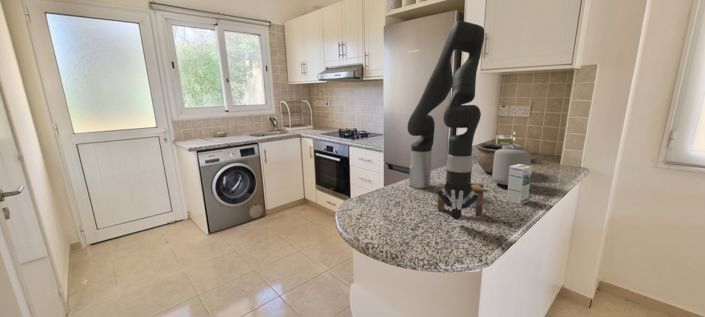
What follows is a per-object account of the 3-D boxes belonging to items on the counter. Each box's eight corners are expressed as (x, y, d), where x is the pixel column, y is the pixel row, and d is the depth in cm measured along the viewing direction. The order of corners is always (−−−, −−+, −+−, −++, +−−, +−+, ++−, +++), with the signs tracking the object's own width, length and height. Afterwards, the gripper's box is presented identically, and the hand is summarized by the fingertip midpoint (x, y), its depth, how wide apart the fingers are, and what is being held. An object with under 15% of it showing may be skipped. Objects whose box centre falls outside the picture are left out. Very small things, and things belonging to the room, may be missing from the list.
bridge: (481, 216, 103) (483, 190, 101) (437, 210, 109) (438, 185, 107) (481, 213, 105) (483, 188, 103) (439, 207, 112) (440, 183, 110)
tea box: (494, 156, 196) (495, 134, 193) (511, 157, 192) (513, 135, 189) (495, 161, 182) (497, 137, 179) (513, 162, 179) (515, 138, 175)
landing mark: (442, 203, 116) (442, 202, 116) (447, 192, 129) (447, 191, 129) (480, 208, 110) (480, 207, 110) (482, 196, 123) (482, 195, 123)
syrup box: (520, 204, 113) (524, 168, 109) (506, 200, 118) (509, 165, 115) (529, 202, 115) (533, 166, 112) (515, 197, 120) (518, 163, 117)
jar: (494, 177, 148) (498, 128, 143) (528, 181, 141) (533, 129, 135) (489, 188, 132) (494, 133, 127) (527, 193, 125) (533, 135, 120)
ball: (471, 190, 124) (466, 200, 121) (469, 180, 121) (464, 190, 118) (486, 193, 121) (481, 203, 117) (484, 183, 117) (480, 193, 114)
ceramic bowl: (522, 170, 160) (524, 143, 157) (519, 180, 142) (522, 150, 139) (478, 166, 172) (480, 140, 169) (471, 175, 154) (473, 147, 151)
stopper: (449, 187, 136) (450, 181, 135) (450, 185, 137) (450, 180, 137) (482, 190, 130) (483, 185, 129) (483, 189, 132) (483, 183, 131)
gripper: (482, 167, 94) (478, 217, 98) (439, 164, 99) (437, 211, 103) (481, 173, 87) (477, 226, 91) (435, 169, 93) (433, 220, 97)
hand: (456, 218), depth 97 cm, fingers closed
